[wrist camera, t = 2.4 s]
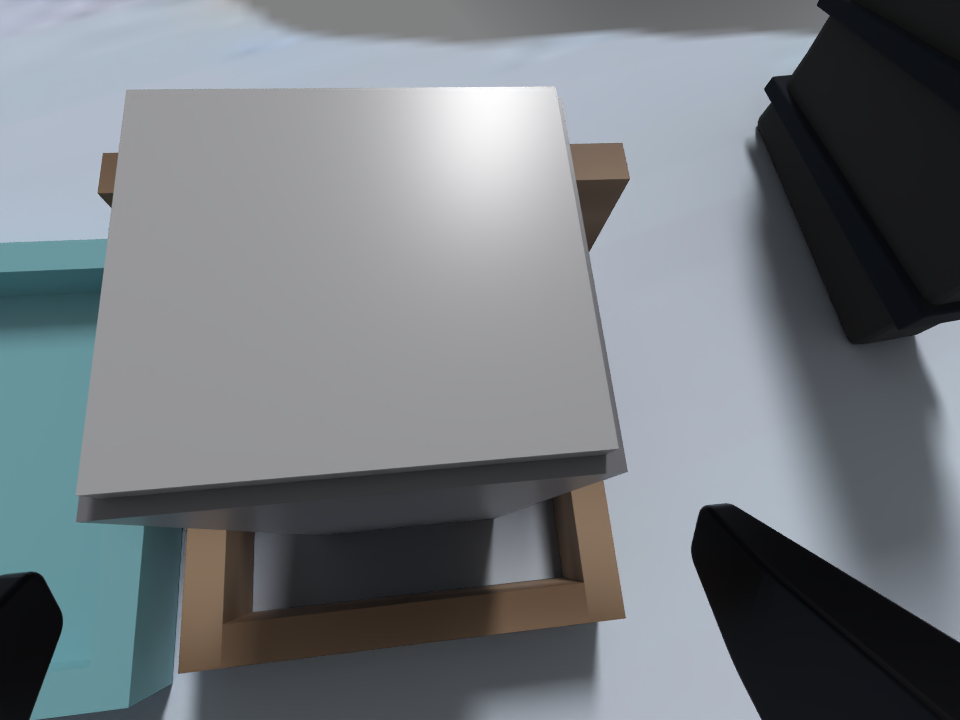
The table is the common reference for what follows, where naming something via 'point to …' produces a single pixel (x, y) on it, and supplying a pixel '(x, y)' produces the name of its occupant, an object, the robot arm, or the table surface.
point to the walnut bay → (416, 617)
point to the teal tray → (74, 491)
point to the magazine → (877, 161)
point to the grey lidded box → (344, 313)
